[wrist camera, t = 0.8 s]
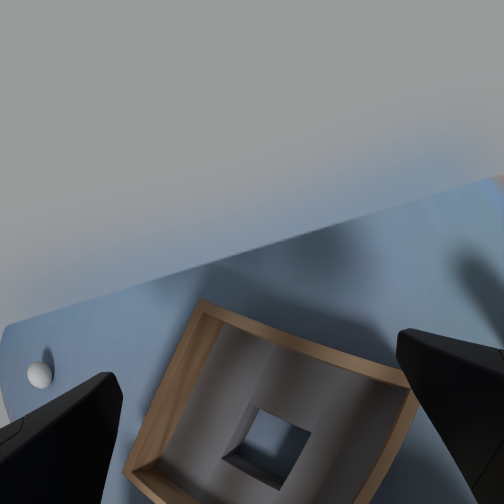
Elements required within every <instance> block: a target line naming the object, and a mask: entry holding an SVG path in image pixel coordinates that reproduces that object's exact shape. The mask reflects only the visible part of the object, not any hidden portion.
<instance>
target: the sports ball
mask: <svg viewBox="0 0 504 504" xmlns="http://www.w3.org/2000/svg"><path fill="white" fill-rule="evenodd" d="M27 374H28V378H29V381H30V382H31V384H32V385H34V386H35V387H37V388H40V389H44V388H47V387H48V386H49V385H50V384H51V382H52V372H51V370H50V368H49V367H48V366H47V365H46V364H45V363H43V362H39V361H37V362H33V363H32V364H31V365H30V366H29V368H28V372H27Z"/></svg>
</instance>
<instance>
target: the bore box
mask: <svg viewBox="0 0 504 504" xmlns="http://www.w3.org/2000/svg"><path fill="white" fill-rule="evenodd" d="M419 404H420V403H419V401H418V400H417V398H416V396H415V395H414V393H413V391H412V389H411V387H410V385H409V383H408V381H407V379H406V377H405V375H404V373H403V371H402V370H399V369H395V368H392V367H389V366H385V365H382V364H379V363H375V362H372V361H369V360H366V359H363V358H360V357H356V356H353V355H350V354H347V353H344V352H341V351H338V350H335V349H332V348H329V347H326V346H323V345H321V344H318V343H315V342H312V341H309V340H306V339H303V338H301V337H298V336H295V335H292V334H290V333H287V332H284V331H281V330H279V329H276V328H273V327H271V326H268V325H265V324H263V323H260V322H258V321H255V320H252V319H250V318H247V317H245V316H242V315H240V314H237V313H235V312H232V311H230V310H227V309H225V308H222V307H220V306H217V305H215V304H212V303H210V302H208V301H205V300H203V299H199V301H198V303H197V305H196V308H195V310H194V312H193V314H192V316H191V318H190V320H189V322H188V324H187V327H186V329H185V331H184V333H183V335H182V337H181V339H180V342H179V344H178V346H177V348H176V350H175V352H174V355H173V357H172V359H171V361H170V363H169V366H168V368H167V370H166V372H165V374H164V377H163V379H162V381H161V383H160V385H159V388H158V390H157V392H156V394H155V397H154V399H153V401H152V403H151V406H150V408H149V410H148V412H147V415H146V417H145V419H144V421H143V424H142V426H141V428H140V431H139V433H138V435H137V438H136V440H135V442H134V445H133V447H132V449H131V452H130V454H129V456H128V459H127V461H126V464H125V466H124V468H123V471H122V473H123V474H124V475H125V476H126V477H127V478H128V479H129V480H130V481H131V482H132V483H133V484H134V485H135V486H136V487H137V488H138V489H139V490H141V491H142V492H143V493H144V494H145V495H146V496H147V497H148V498H149V499H151V500H152V501H153V502H154V503H155V504H369V502H370V500H371V499H372V497H373V496H374V494H375V492H376V491H377V489H378V487H379V486H380V484H381V482H382V481H383V479H384V477H385V475H386V473H387V472H388V470H389V468H390V466H391V464H392V462H393V461H394V459H395V457H396V455H397V453H398V451H399V449H400V447H401V445H402V443H403V441H404V438H405V436H406V434H407V432H408V430H409V428H410V425H411V423H412V421H413V418H414V416H415V414H416V411H417V409H418V406H419ZM259 409H261V410H263V411H266V412H268V413H270V414H272V415H274V416H276V417H278V418H280V419H282V420H285V421H287V422H289V423H291V424H293V425H296V426H298V427H300V428H302V429H305V430H307V431H309V432H312V433H311V435H310V437H309V439H308V441H307V443H306V445H305V447H304V448H303V450H302V452H301V454H300V456H299V458H298V460H297V461H296V463H295V465H294V467H293V469H292V470H291V472H290V474H289V476H288V477H287V479H286V480H284V479H282V478H280V477H278V476H276V475H274V474H272V473H270V472H268V471H266V470H264V469H262V468H260V467H258V466H256V465H255V464H253V463H251V462H249V461H247V460H246V459H244V458H242V457H240V456H239V455H237V453H238V451H239V449H240V447H241V445H242V443H243V441H244V439H245V437H246V435H247V433H248V431H249V429H250V427H251V425H252V423H253V421H254V419H255V417H256V415H257V413H258V411H259Z"/></svg>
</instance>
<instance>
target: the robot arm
mask: <svg viewBox="0 0 504 504" xmlns="http://www.w3.org/2000/svg"><path fill="white" fill-rule="evenodd" d="M396 358H397V361H398V363H399V365H400V367H401V369H402V371H403V373H404V375H405V377H406V379H407V381H408V383H409V385H410V387H411V389H412V391H413V393H414V395H415V396H416V398H417V400H418V401H419V403H420V404H421V406H422V408H423V409H424V411H425V412H426V414H427V416H428V417H429V419H430V420H431V422H432V424H433V425H434V427H435V429H436V430H437V432H438V434H439V435H440V437H441V439H442V440H443V442H444V444H445V445H446V447H447V449H448V450H449V452H450V454H451V455H452V457H453V459H454V461H455V462H456V464H457V466H458V468H459V469H460V471H461V473H462V475H463V477H464V478H465V480H466V482H467V484H468V486H469V488H470V489H472V490H471V492H472V493H473V495H474V497H475V499H476V501H477V503H478V504H504V350H502V349H499V350H498V349H497V348H493V347H488V346H484V345H480V344H475V343H471V342H466V341H462V340H458V339H453V338H449V337H445V336H441V335H437V334H433V333H428V332H424V331H420V330H416V329H412V328H408V329H405V330H401V331H400V332H399V333H398V337H397V348H396ZM122 402H123V394H122V391H121V388H120V386H119V384H118V381H117V379H116V376H115V375H114V373H112V372H101V373H99V374H97V375H95V376H94V377H92V378H90V379H89V380H87V381H85V382H83V383H82V384H80V385H78V386H76V387H75V388H73V389H71V390H69V391H68V392H66V393H64V394H62V395H61V396H59V397H57V398H55V399H54V400H52V401H50V402H48V403H47V404H45V405H43V406H41V407H40V408H38V409H36V410H34V411H32V412H31V413H29V414H27V415H25V417H21V418H20V419H18V420H16V421H14V422H12V423H10V424H8V425H7V426H4V427H3V428H0V504H101V499H102V495H103V490H104V486H105V482H106V477H107V473H108V469H109V465H110V461H111V457H112V453H113V450H114V446H115V442H116V438H117V433H118V427H119V420H120V414H121V408H122Z"/></svg>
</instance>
